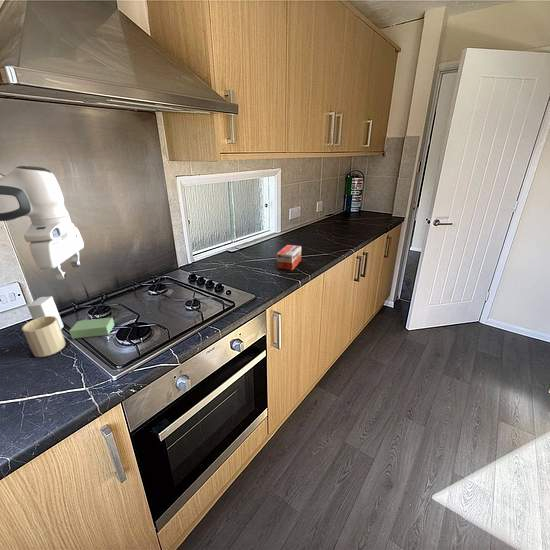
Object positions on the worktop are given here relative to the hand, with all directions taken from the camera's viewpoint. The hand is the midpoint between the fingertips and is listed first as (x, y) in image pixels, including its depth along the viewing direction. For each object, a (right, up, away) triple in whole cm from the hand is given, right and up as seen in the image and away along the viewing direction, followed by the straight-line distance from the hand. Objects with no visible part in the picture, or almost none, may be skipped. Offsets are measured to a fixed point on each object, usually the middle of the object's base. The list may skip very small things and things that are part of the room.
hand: (69, 272), depth 88 cm
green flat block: (+1, -20, +9) cm, 22 cm away
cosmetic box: (-12, -20, +10) cm, 26 cm away
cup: (-7, -23, +2) cm, 24 cm away
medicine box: (+69, +4, +61) cm, 92 cm away
